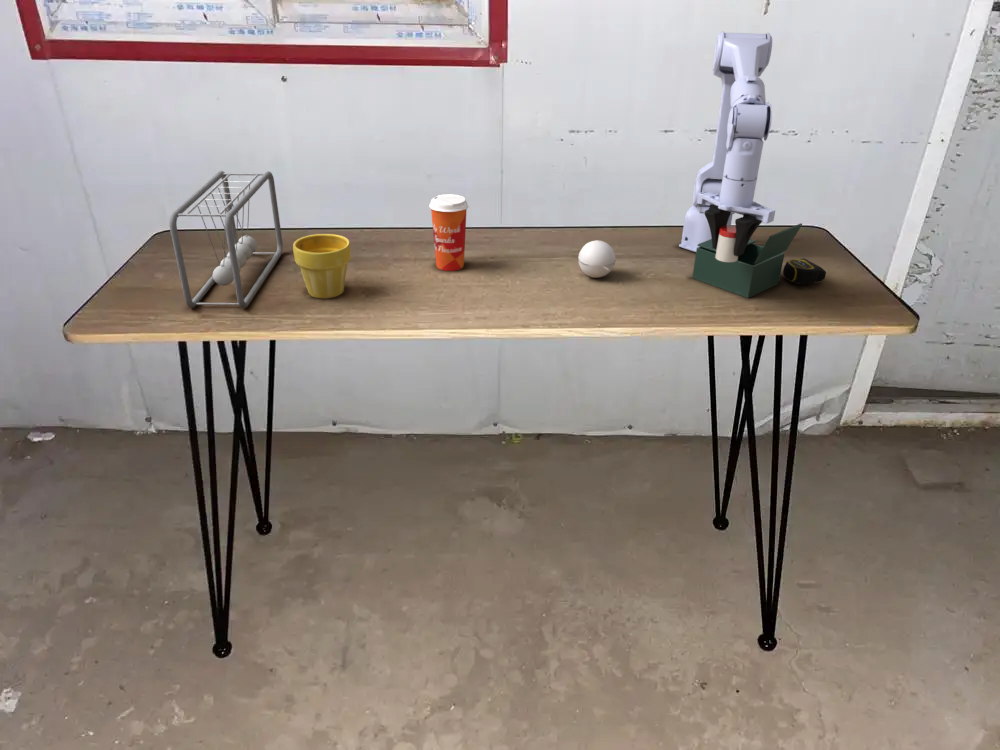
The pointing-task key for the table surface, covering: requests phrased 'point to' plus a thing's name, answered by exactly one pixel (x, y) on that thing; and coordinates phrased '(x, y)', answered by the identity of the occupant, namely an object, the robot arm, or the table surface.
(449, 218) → the paper cup
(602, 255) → the seamed sphere
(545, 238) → the table surface
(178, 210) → the newton's cradle
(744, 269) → the carton
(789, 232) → the flap
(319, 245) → the flower pot
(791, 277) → the tape measure
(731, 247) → the shaker
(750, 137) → the robot arm
